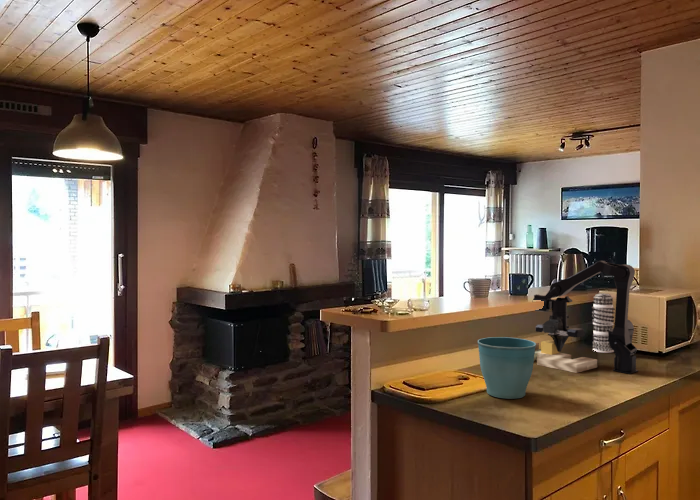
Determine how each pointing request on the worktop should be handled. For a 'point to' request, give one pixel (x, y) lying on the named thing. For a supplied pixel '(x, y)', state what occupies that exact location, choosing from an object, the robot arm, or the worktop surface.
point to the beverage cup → (630, 329)
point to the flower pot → (506, 365)
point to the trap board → (564, 361)
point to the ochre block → (548, 347)
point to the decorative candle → (602, 322)
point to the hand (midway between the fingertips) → (559, 351)
